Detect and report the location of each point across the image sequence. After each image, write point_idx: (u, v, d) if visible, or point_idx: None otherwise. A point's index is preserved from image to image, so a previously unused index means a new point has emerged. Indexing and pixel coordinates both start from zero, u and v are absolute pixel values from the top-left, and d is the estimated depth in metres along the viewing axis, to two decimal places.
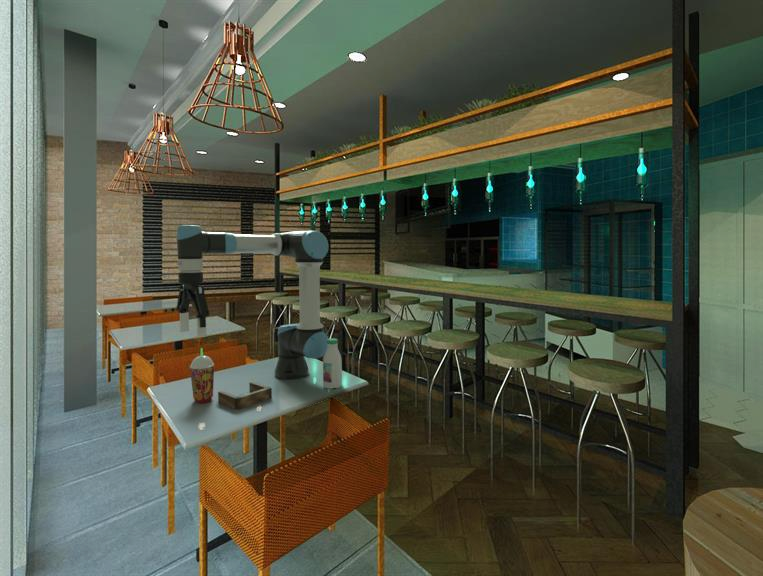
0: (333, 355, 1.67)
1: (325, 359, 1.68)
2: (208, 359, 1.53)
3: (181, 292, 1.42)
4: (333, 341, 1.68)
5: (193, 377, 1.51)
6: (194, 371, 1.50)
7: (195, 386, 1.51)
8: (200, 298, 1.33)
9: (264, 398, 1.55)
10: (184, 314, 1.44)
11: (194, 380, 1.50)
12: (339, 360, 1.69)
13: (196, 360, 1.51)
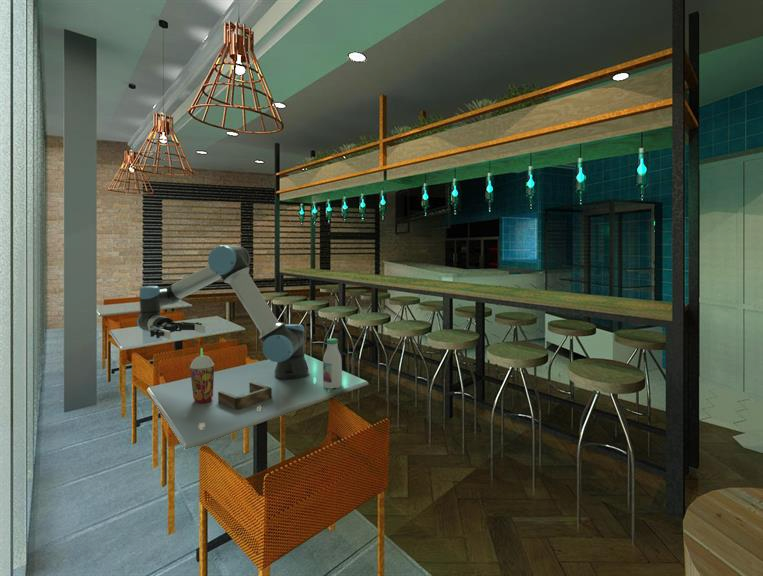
0: (333, 355, 1.67)
1: (325, 359, 1.68)
2: (208, 359, 1.53)
3: None
4: (333, 341, 1.68)
5: (193, 377, 1.51)
6: (194, 371, 1.50)
7: (195, 386, 1.51)
8: None
9: (264, 398, 1.55)
10: (195, 327, 1.67)
11: (194, 380, 1.50)
12: (339, 360, 1.69)
13: (196, 360, 1.51)
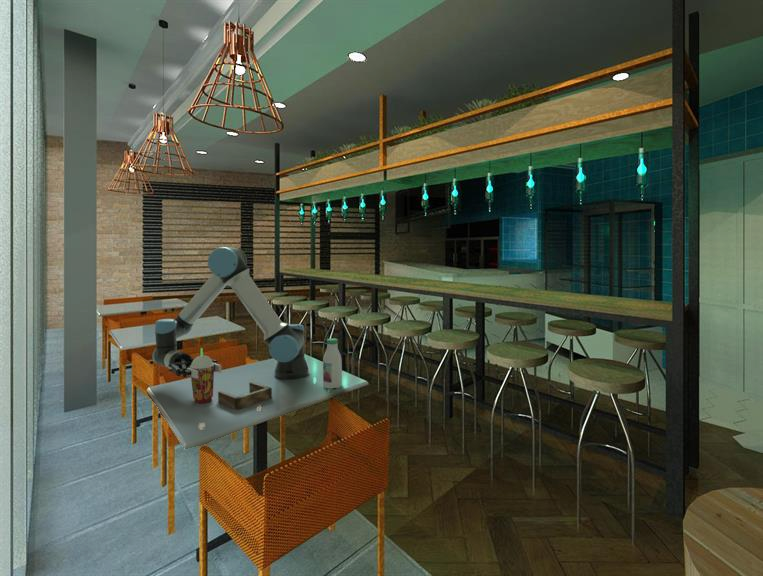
0: (333, 355, 1.67)
1: (325, 359, 1.68)
2: (208, 359, 1.53)
3: None
4: (333, 341, 1.68)
5: None
6: None
7: (195, 386, 1.51)
8: (172, 370, 1.54)
9: (264, 398, 1.55)
10: None
11: (194, 380, 1.50)
12: (339, 360, 1.69)
13: (196, 360, 1.51)
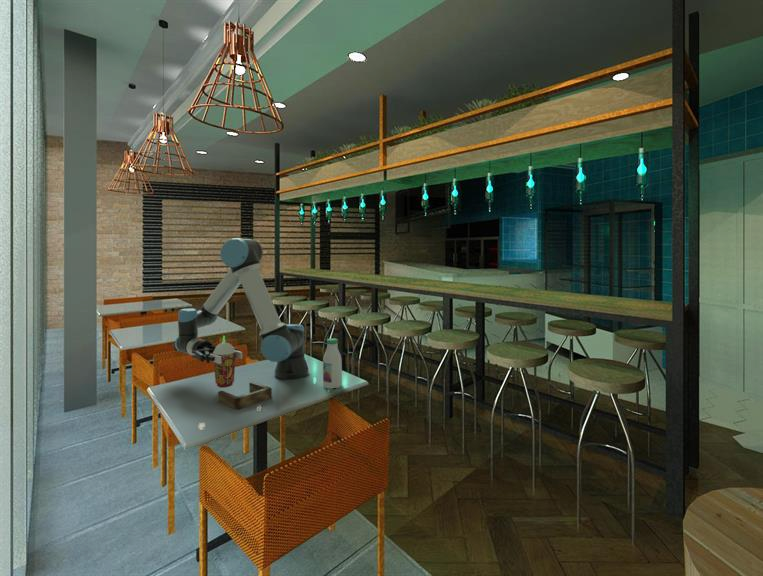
0: (333, 355, 1.67)
1: (325, 359, 1.68)
2: (230, 346, 1.61)
3: None
4: (333, 341, 1.68)
5: (216, 363, 1.59)
6: None
7: (218, 371, 1.59)
8: (196, 356, 1.62)
9: (264, 398, 1.55)
10: None
11: (217, 365, 1.59)
12: (339, 360, 1.69)
13: (219, 347, 1.59)
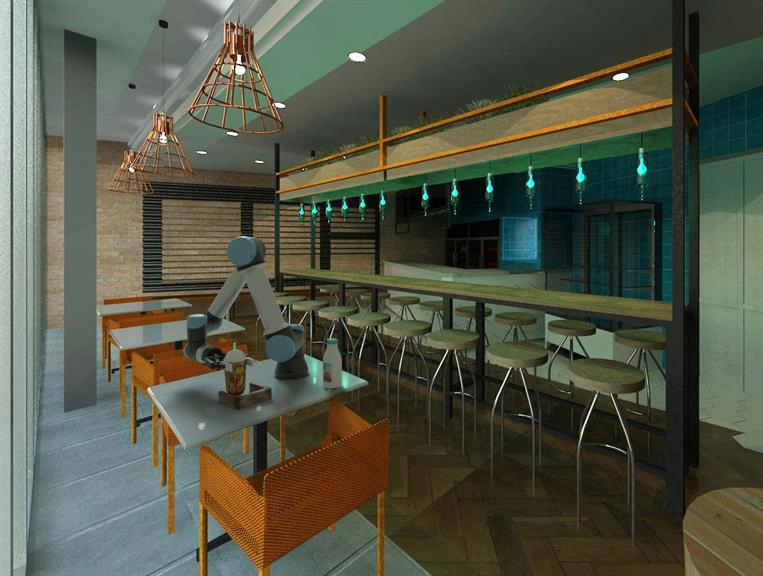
0: (333, 355, 1.67)
1: (325, 359, 1.68)
2: (241, 353, 1.56)
3: None
4: (333, 341, 1.68)
5: None
6: None
7: (229, 379, 1.54)
8: (206, 364, 1.57)
9: (264, 398, 1.55)
10: None
11: (228, 373, 1.54)
12: (339, 360, 1.69)
13: (230, 354, 1.54)
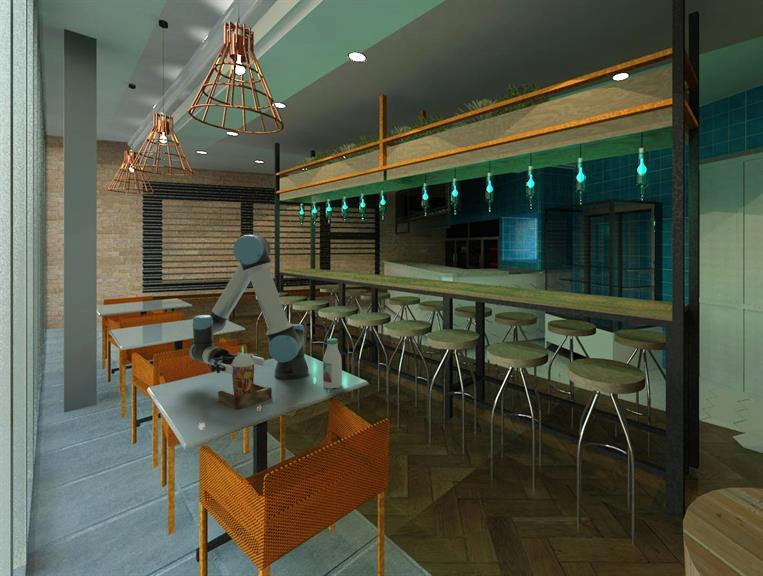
0: (333, 355, 1.67)
1: (325, 359, 1.68)
2: (249, 357, 1.54)
3: None
4: (333, 341, 1.68)
5: (235, 375, 1.52)
6: (236, 369, 1.51)
7: (237, 384, 1.52)
8: None
9: (264, 398, 1.55)
10: (253, 359, 1.62)
11: (236, 378, 1.52)
12: (339, 360, 1.69)
13: (238, 358, 1.52)
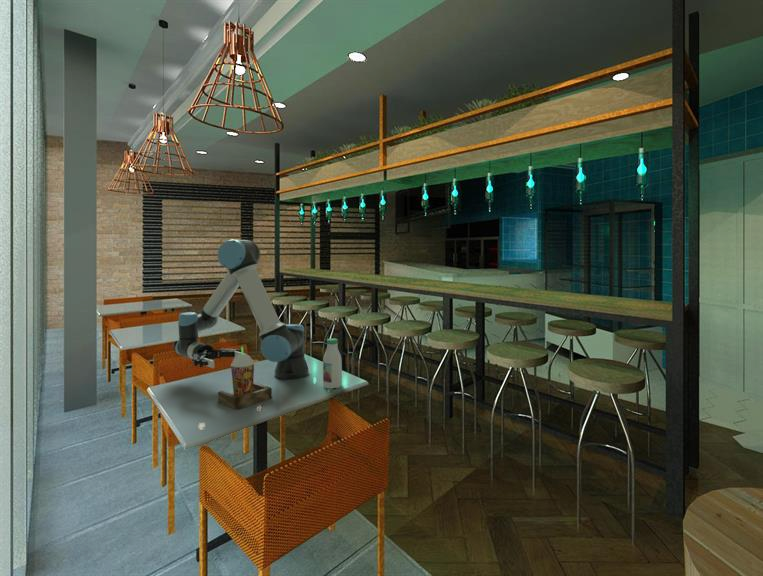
0: (333, 355, 1.67)
1: (325, 359, 1.68)
2: (249, 357, 1.54)
3: None
4: (333, 341, 1.68)
5: (234, 375, 1.52)
6: (236, 369, 1.51)
7: (237, 384, 1.52)
8: (193, 360, 1.62)
9: (264, 398, 1.55)
10: (235, 354, 1.69)
11: (235, 378, 1.52)
12: (339, 360, 1.69)
13: (237, 358, 1.52)
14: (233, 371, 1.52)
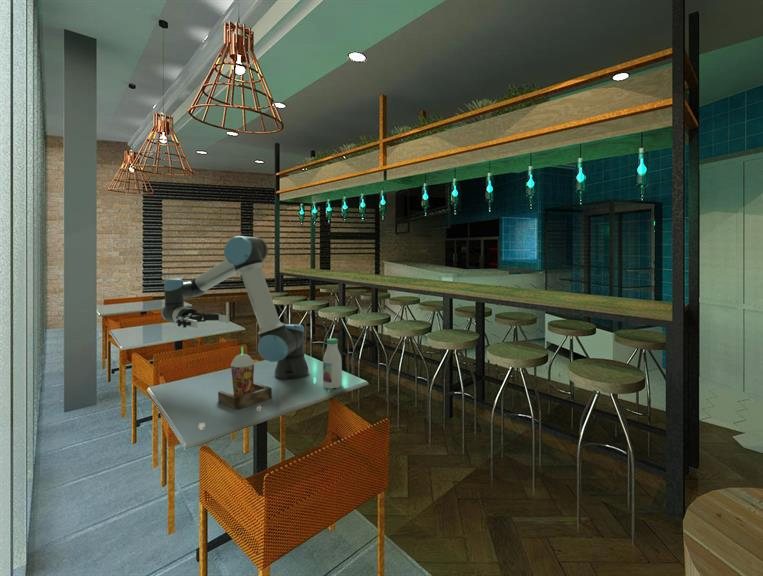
0: (333, 355, 1.67)
1: (325, 359, 1.68)
2: (249, 357, 1.54)
3: None
4: (333, 341, 1.68)
5: (234, 375, 1.52)
6: (236, 369, 1.51)
7: (237, 384, 1.52)
8: None
9: (264, 398, 1.55)
10: (219, 318, 1.72)
11: (235, 378, 1.52)
12: (339, 360, 1.69)
13: (237, 358, 1.52)
14: (233, 371, 1.52)
